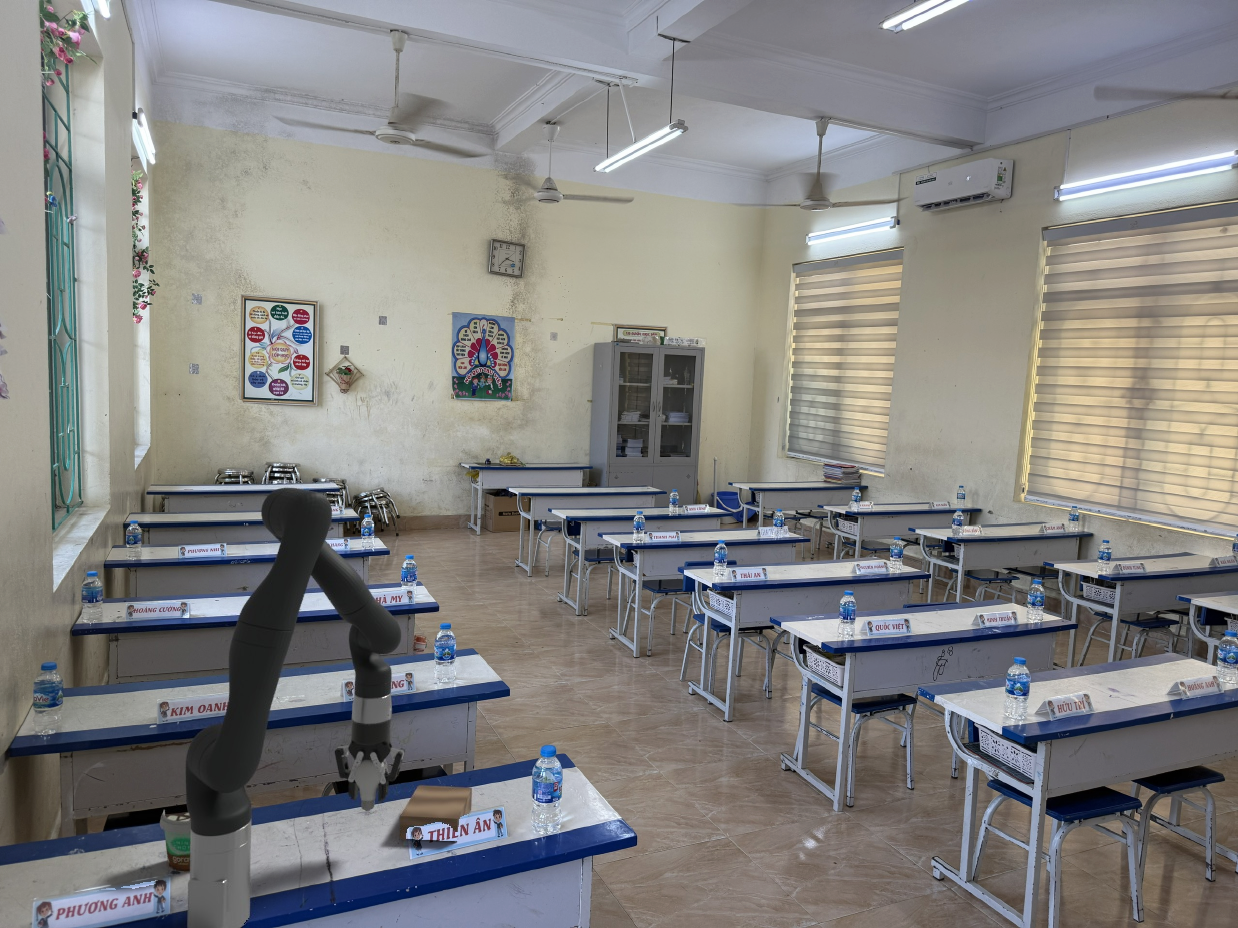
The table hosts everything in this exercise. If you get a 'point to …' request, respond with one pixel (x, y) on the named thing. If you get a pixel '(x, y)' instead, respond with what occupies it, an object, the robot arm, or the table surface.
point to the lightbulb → (367, 783)
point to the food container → (177, 839)
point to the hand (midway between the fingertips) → (368, 798)
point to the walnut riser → (435, 807)
